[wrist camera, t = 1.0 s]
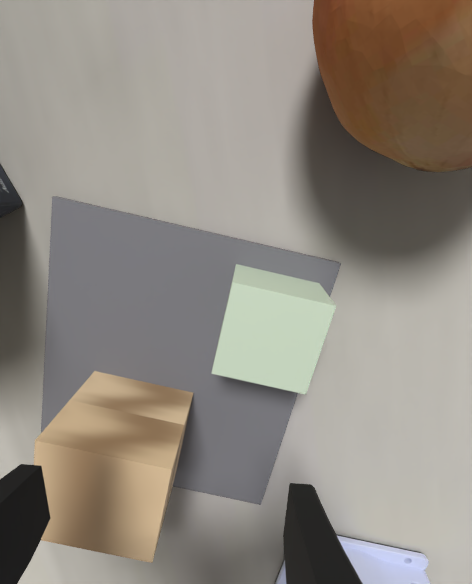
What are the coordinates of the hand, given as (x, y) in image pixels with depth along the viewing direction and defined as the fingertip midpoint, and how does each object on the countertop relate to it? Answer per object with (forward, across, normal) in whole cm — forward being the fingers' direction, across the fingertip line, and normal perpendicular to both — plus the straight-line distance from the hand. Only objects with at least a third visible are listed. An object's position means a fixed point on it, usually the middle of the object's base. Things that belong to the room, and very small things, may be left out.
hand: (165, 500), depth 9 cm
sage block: (+10, -3, -2) cm, 10 cm away
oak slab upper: (+7, +4, +6) cm, 10 cm away
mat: (+10, +2, +2) cm, 10 cm away
